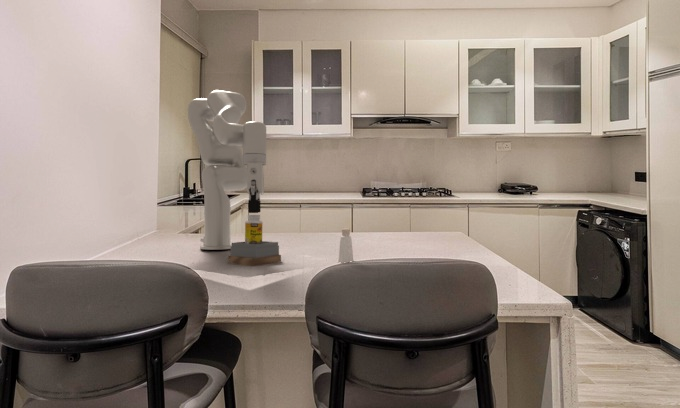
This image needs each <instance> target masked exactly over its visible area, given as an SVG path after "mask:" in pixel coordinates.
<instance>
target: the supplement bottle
mask: <svg viewBox="0 0 680 408" xmlns="http://www.w3.org/2000/svg"><path fill="white" fill-rule="evenodd" d="M244 224H245V225H244V226H245V228H244V230H245V231H244V242H245V243H246V244H262V241H263V221H262V220H261V214H248V215H247V220H246V221H245V223H244Z"/></svg>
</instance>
